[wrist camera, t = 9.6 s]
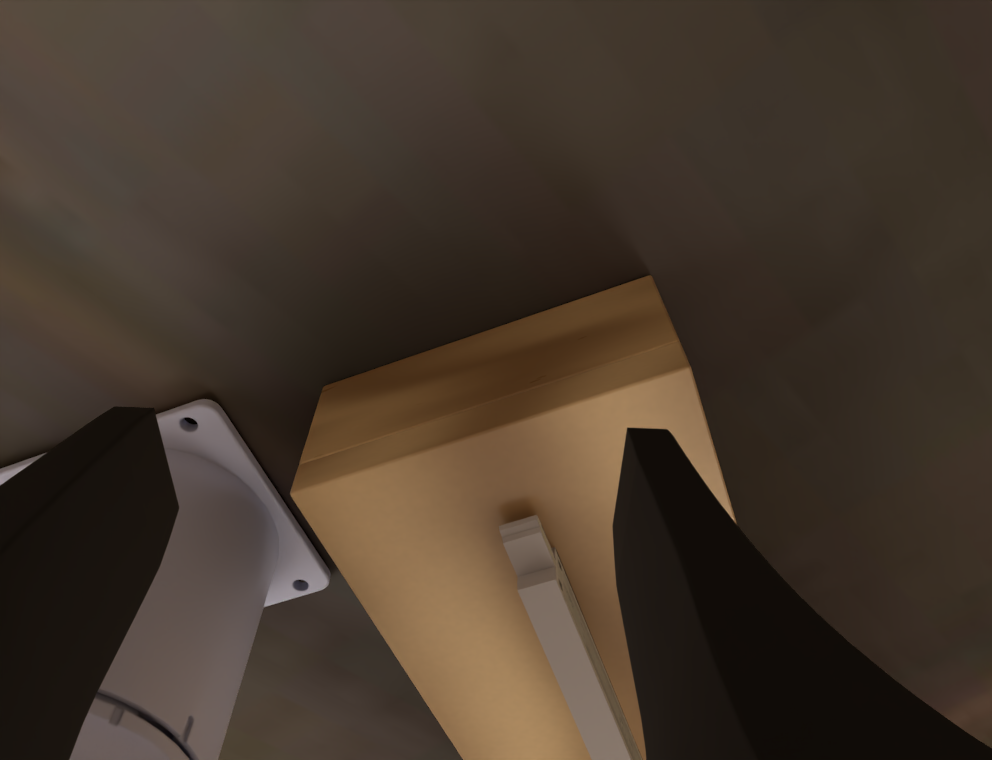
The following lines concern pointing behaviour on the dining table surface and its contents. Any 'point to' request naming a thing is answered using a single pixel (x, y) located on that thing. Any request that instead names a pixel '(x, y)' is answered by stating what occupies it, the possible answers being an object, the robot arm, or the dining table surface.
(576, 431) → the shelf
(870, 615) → the dining table surface
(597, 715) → the caliper
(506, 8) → the dining table surface
